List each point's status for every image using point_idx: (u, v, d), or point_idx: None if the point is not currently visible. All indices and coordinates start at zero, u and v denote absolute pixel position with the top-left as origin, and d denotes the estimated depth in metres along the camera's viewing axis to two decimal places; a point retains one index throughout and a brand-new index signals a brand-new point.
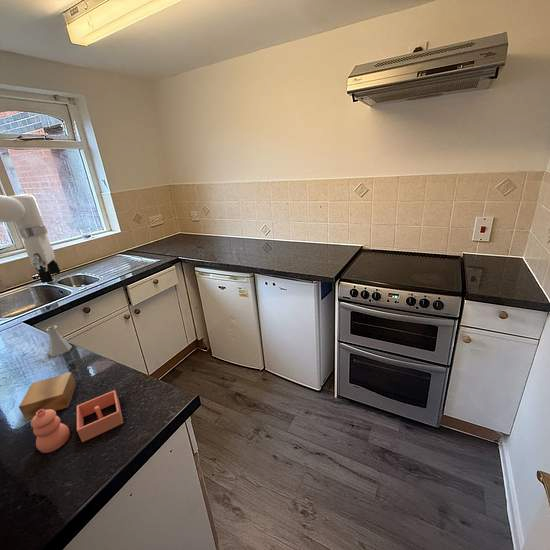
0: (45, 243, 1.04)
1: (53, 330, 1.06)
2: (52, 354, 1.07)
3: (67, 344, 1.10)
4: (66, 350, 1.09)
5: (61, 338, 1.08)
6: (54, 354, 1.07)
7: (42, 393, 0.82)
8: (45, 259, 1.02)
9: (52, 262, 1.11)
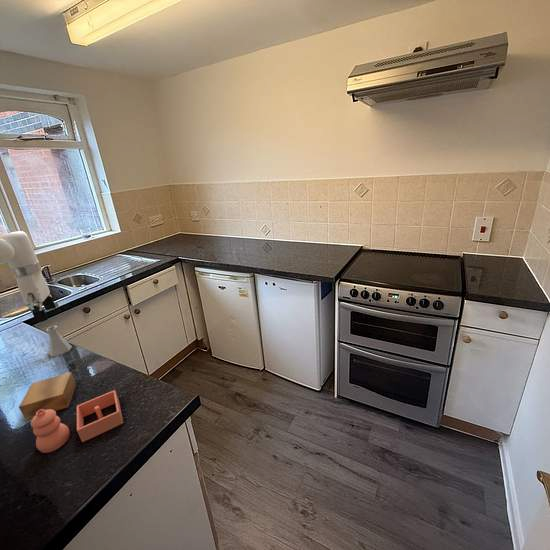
0: (39, 281, 1.00)
1: (53, 330, 1.06)
2: (52, 354, 1.07)
3: (67, 344, 1.10)
4: (66, 350, 1.09)
5: (61, 338, 1.08)
6: (54, 354, 1.07)
7: (42, 393, 0.82)
8: (39, 298, 0.98)
9: (47, 298, 1.07)
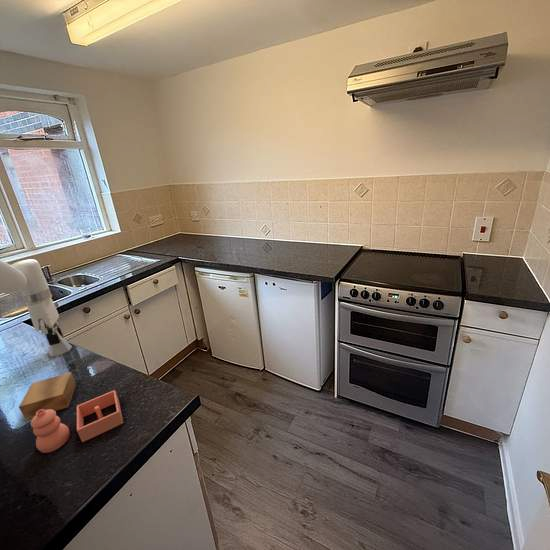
0: (49, 306, 1.03)
1: None
2: (52, 354, 1.07)
3: (67, 344, 1.10)
4: (66, 350, 1.09)
5: (61, 338, 1.08)
6: (54, 354, 1.07)
7: (42, 393, 0.82)
8: (49, 323, 1.02)
9: None
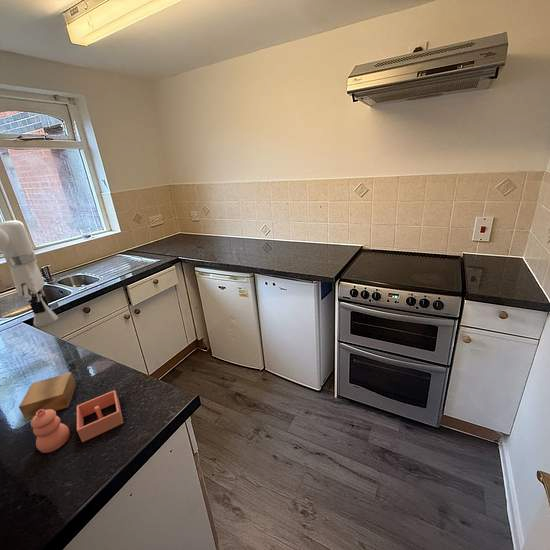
0: (34, 271, 0.98)
1: None
2: (36, 323, 1.01)
3: (53, 314, 1.05)
4: (51, 320, 1.03)
5: (46, 307, 1.03)
6: (38, 323, 1.01)
7: (42, 393, 0.82)
8: (33, 289, 0.96)
9: None
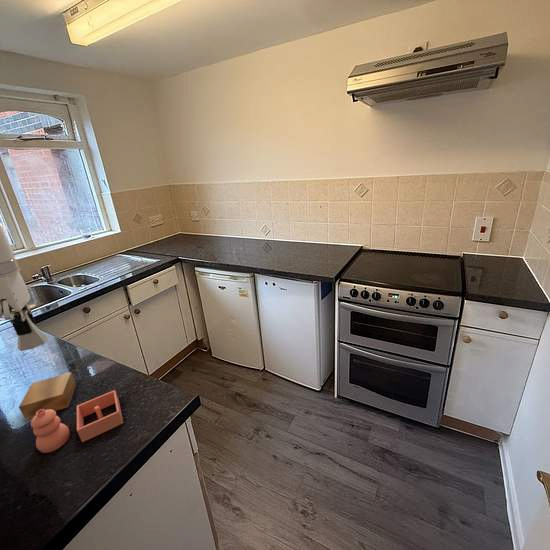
0: (16, 283, 0.77)
1: None
2: (21, 347, 0.81)
3: (42, 334, 0.84)
4: (40, 342, 0.83)
5: (34, 326, 0.83)
6: (24, 347, 0.81)
7: (42, 393, 0.82)
8: (16, 306, 0.76)
9: None
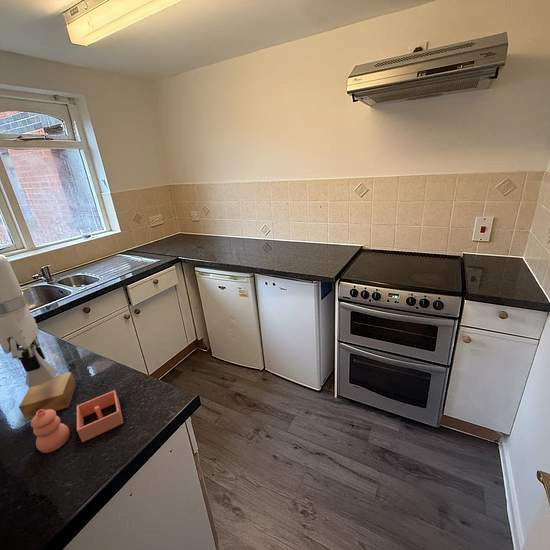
0: (24, 319, 0.75)
1: None
2: (29, 383, 0.79)
3: (50, 369, 0.82)
4: (49, 377, 0.81)
5: (42, 361, 0.81)
6: (32, 383, 0.79)
7: (42, 393, 0.82)
8: (23, 343, 0.74)
9: None
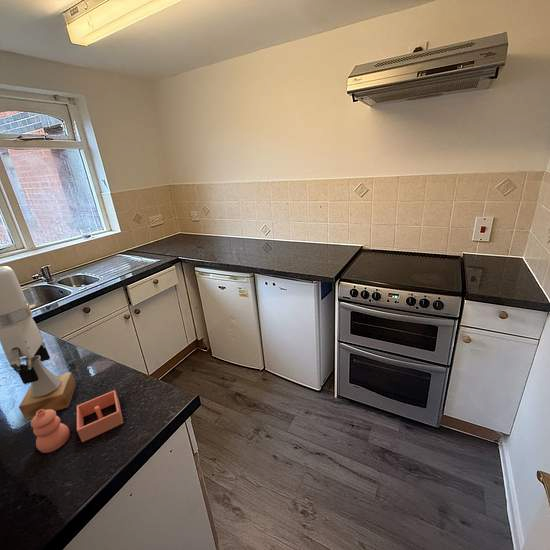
0: (28, 330, 0.76)
1: (35, 362, 0.79)
2: (34, 394, 0.80)
3: (55, 379, 0.83)
4: (53, 387, 0.82)
5: (46, 372, 0.82)
6: (37, 394, 0.80)
7: None
8: (28, 353, 0.75)
9: (39, 347, 0.84)
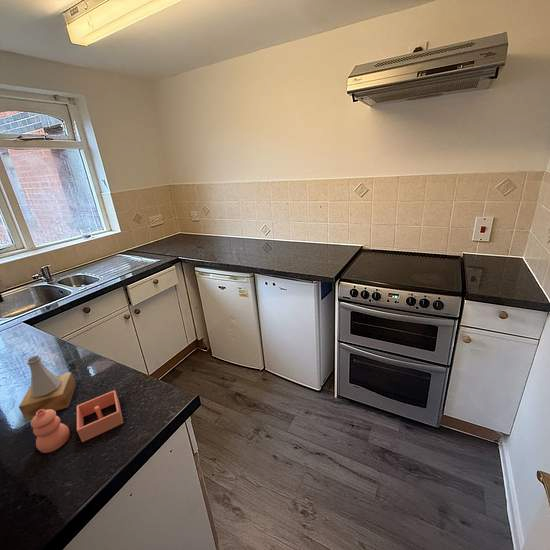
0: None
1: (35, 362, 0.79)
2: (34, 394, 0.80)
3: (55, 379, 0.83)
4: (53, 387, 0.82)
5: (46, 372, 0.82)
6: (37, 394, 0.80)
7: None
8: None
9: None
